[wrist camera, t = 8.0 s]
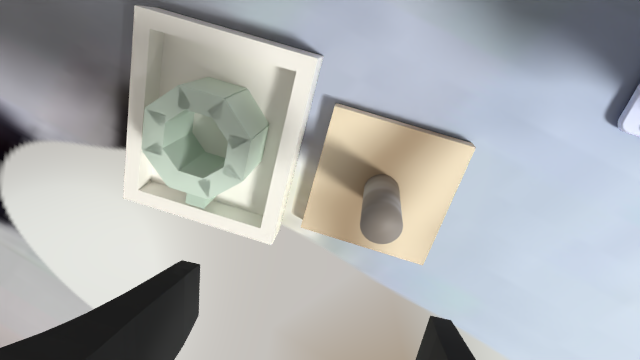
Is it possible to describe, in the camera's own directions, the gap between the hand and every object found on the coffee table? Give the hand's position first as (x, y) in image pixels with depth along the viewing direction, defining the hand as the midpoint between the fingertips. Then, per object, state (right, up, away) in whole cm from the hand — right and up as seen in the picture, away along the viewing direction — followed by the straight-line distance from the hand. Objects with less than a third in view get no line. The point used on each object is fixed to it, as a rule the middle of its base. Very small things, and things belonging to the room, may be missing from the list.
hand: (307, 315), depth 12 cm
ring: (-5, +7, +8) cm, 12 cm away
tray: (-5, +7, +9) cm, 12 cm away
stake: (+4, +4, +9) cm, 10 cm away
